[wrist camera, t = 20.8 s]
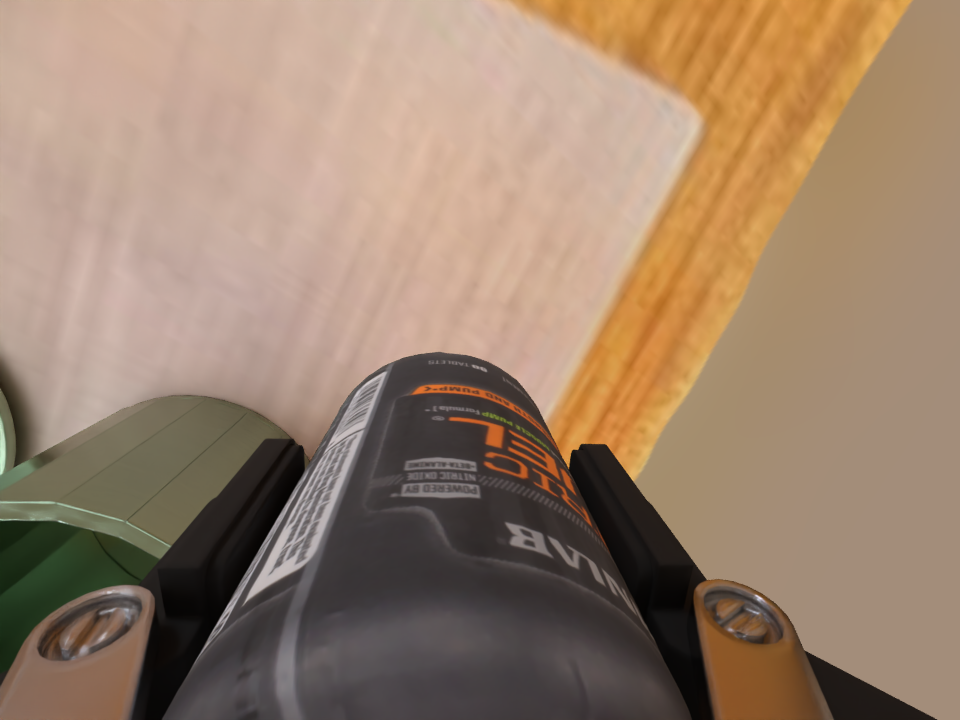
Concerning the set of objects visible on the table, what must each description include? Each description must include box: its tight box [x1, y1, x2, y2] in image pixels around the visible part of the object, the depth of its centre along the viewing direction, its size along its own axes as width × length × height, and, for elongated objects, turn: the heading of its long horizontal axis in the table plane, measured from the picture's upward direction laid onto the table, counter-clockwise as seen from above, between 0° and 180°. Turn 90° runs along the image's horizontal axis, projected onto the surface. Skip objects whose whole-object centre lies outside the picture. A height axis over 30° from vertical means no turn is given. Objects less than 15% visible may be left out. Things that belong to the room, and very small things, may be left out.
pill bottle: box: [162, 352, 692, 720], centre depth 7 cm, size 6×6×11 cm
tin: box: [0, 395, 310, 674], centre depth 23 cm, size 15×15×10 cm
